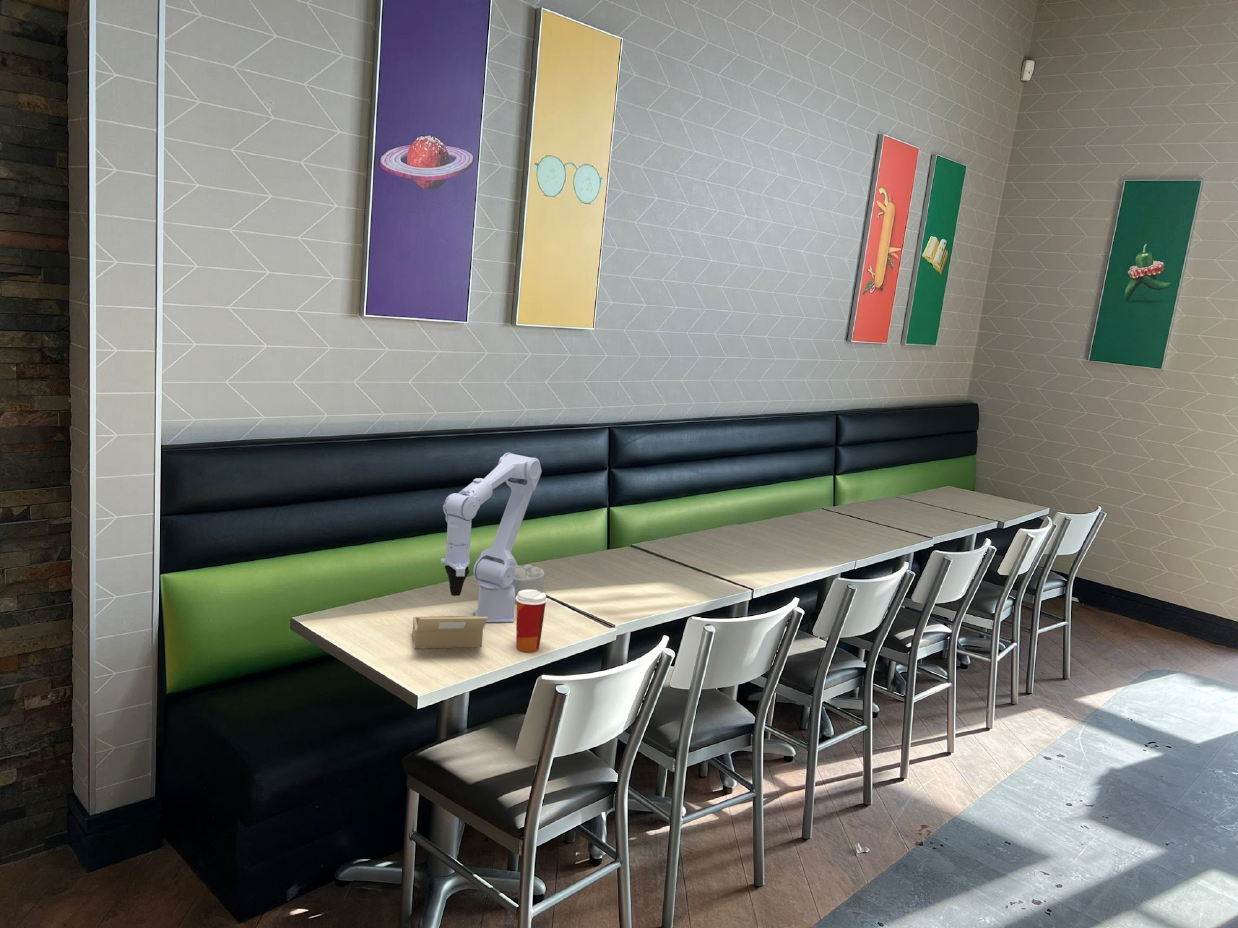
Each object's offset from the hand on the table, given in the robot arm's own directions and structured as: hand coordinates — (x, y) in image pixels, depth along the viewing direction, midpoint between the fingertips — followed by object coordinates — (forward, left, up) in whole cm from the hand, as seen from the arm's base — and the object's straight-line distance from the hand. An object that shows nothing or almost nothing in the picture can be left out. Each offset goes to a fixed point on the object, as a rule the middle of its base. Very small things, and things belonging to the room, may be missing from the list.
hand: (455, 594), depth 227 cm
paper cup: (-17, +10, -11) cm, 22 cm away
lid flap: (+2, +12, -3) cm, 12 cm away
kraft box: (+2, +4, -10) cm, 11 cm away
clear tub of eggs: (-23, -27, -11) cm, 37 cm away
